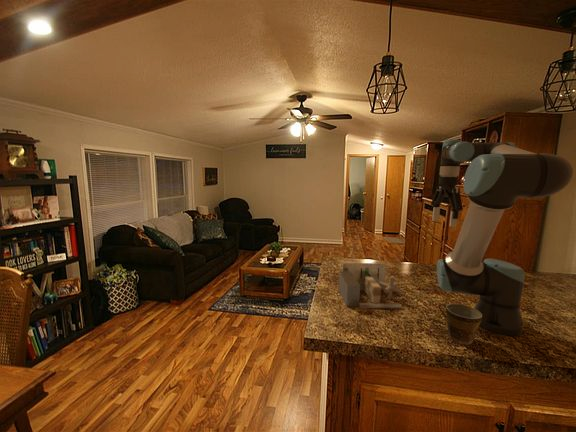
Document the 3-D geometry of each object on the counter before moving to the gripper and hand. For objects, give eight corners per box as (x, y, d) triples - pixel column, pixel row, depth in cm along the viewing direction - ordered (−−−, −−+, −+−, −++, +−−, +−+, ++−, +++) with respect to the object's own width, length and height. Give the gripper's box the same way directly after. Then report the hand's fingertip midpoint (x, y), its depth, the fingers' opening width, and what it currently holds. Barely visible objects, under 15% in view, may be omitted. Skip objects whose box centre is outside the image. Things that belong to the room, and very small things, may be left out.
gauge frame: (401, 308, 110) (404, 280, 108) (347, 307, 109) (348, 279, 108) (383, 287, 130) (385, 263, 128) (337, 287, 129) (338, 262, 127)
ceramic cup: (484, 342, 88) (488, 313, 87) (467, 352, 84) (471, 321, 82) (444, 323, 100) (448, 297, 98) (428, 330, 95) (431, 303, 93)
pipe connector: (395, 306, 112) (399, 284, 110) (373, 297, 119) (376, 275, 117) (405, 299, 119) (408, 277, 117) (383, 290, 126) (386, 270, 124)
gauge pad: (379, 303, 113) (381, 287, 112) (372, 302, 113) (373, 287, 112) (368, 287, 128) (369, 273, 127) (361, 287, 128) (362, 273, 127)
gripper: (477, 176, 109) (470, 229, 112) (441, 176, 134) (436, 218, 137) (458, 176, 109) (452, 228, 112) (425, 175, 133) (421, 218, 137)
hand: (443, 223), depth 124 cm, fingers open, 13 cm apart
